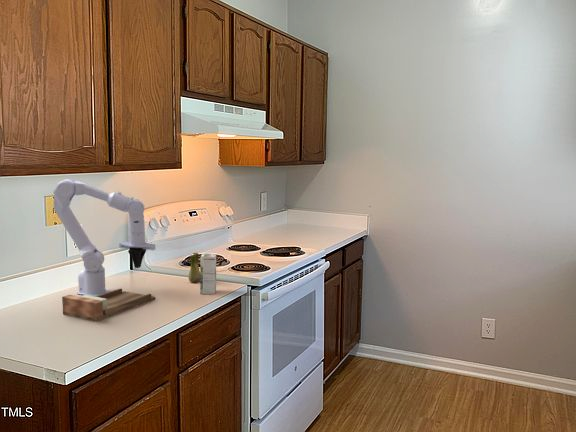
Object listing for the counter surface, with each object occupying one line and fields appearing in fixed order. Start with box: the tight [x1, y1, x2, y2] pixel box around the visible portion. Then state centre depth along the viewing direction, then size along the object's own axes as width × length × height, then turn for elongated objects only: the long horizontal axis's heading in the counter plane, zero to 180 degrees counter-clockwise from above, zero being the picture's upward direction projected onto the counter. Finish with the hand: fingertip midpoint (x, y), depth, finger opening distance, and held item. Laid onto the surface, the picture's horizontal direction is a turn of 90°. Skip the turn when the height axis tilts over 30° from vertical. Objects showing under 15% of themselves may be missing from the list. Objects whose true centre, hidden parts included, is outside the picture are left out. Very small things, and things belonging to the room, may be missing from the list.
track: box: [61, 288, 156, 322], centre depth 186 cm, size 15×28×6 cm, turn 153°
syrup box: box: [199, 253, 217, 295], centre depth 205 cm, size 6×6×14 cm
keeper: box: [79, 295, 107, 310], centre depth 178 cm, size 10×4×4 cm, turn 63°
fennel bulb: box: [188, 252, 200, 283], centre depth 220 cm, size 6×5×12 cm
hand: (137, 267), depth 204 cm, fingers closed
